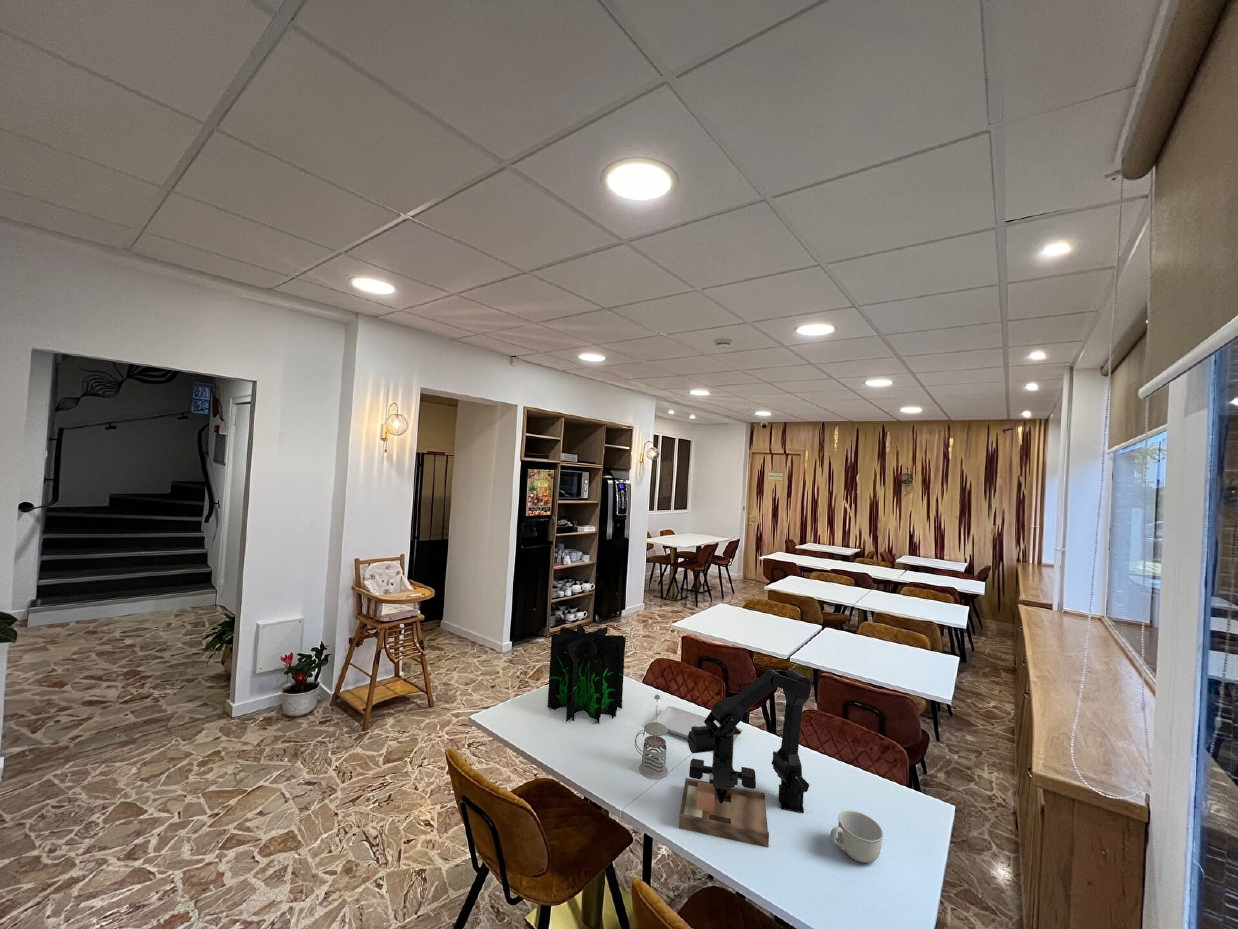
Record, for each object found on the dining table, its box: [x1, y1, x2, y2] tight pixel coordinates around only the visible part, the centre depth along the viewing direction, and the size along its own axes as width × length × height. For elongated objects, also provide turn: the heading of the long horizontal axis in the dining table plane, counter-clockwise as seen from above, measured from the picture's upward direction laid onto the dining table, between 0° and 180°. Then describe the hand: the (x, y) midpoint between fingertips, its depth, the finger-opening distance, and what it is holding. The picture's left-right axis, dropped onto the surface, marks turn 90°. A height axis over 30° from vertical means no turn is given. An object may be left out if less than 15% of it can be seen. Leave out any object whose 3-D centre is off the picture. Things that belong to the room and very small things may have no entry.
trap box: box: [678, 777, 770, 848], centre depth 144 cm, size 24×18×4 cm
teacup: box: [830, 809, 884, 864], centre depth 132 cm, size 14×11×8 cm
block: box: [696, 782, 715, 813], centre depth 145 cm, size 5×5×5 cm
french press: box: [634, 694, 669, 781], centre depth 165 cm, size 10×12×25 cm
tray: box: [651, 705, 744, 746], centre depth 190 cm, size 17×31×4 cm, turn 59°
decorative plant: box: [547, 623, 627, 724], centre depth 207 cm, size 29×30×30 cm
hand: (721, 802), depth 144 cm, fingers closed
